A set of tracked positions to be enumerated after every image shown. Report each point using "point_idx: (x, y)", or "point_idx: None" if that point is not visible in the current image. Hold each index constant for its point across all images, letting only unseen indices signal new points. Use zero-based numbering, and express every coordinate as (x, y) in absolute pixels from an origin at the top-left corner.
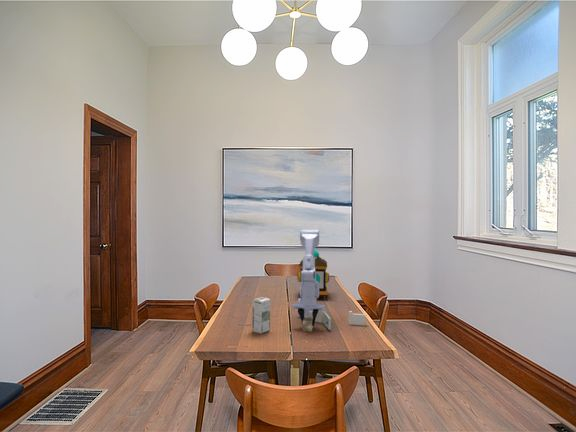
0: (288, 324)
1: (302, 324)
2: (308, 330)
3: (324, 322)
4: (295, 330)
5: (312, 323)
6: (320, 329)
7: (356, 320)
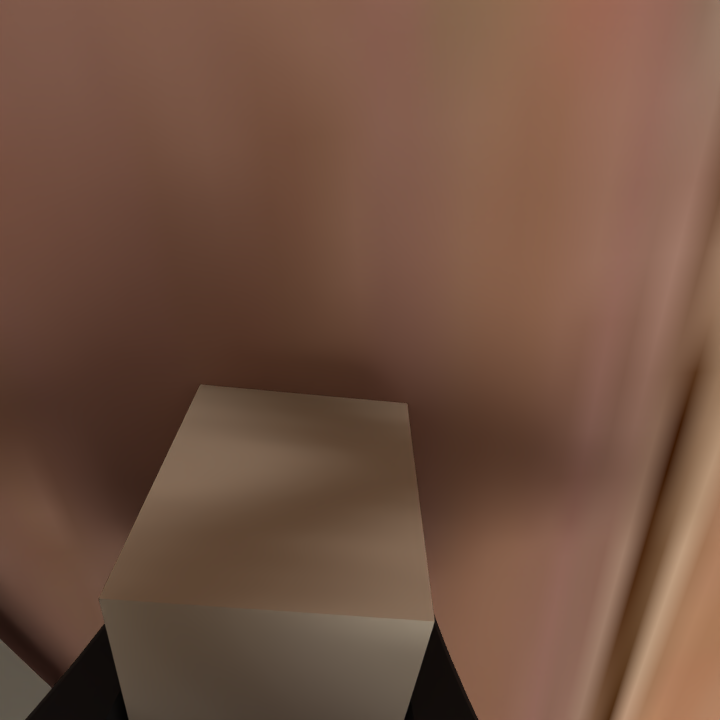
0: (652, 638)
1: None
2: (267, 405)
3: (16, 699)
4: (568, 419)
5: None
6: (44, 503)
7: None
